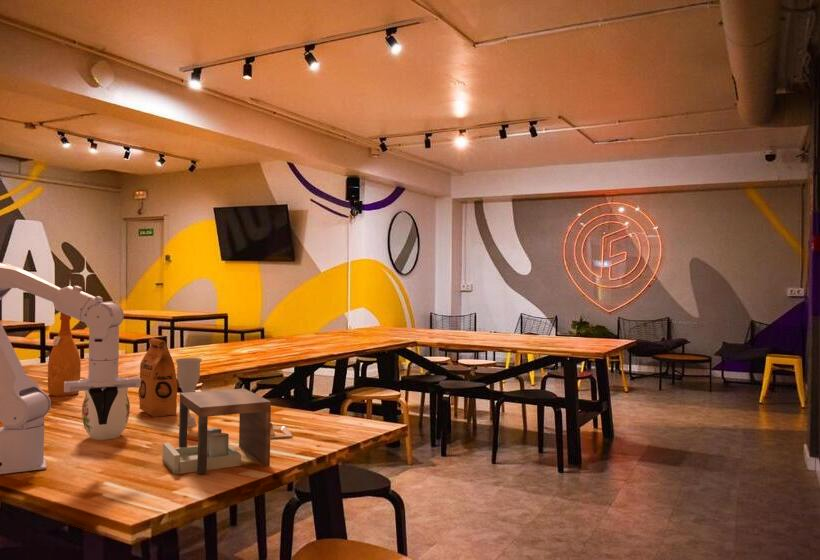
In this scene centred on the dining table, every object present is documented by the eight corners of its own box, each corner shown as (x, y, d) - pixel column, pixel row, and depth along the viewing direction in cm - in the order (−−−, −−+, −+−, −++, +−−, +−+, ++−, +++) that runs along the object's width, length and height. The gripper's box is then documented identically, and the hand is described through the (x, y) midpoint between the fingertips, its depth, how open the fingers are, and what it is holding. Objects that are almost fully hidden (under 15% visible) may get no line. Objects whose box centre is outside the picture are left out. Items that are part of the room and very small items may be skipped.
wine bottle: (51, 392, 224) (52, 305, 224) (82, 391, 226) (84, 305, 227) (44, 397, 214) (46, 306, 214) (77, 396, 217) (78, 306, 217)
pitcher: (121, 426, 175) (122, 375, 175) (135, 440, 160) (136, 385, 160) (76, 431, 169) (77, 378, 169) (86, 446, 154) (87, 388, 154)
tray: (173, 475, 133) (174, 443, 133) (162, 460, 144) (162, 431, 144) (241, 465, 141) (241, 436, 141) (225, 452, 151) (226, 425, 151)
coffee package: (145, 418, 185) (147, 341, 185) (135, 411, 195) (137, 338, 195) (181, 415, 190) (182, 340, 191) (169, 408, 201) (170, 337, 201)
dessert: (239, 432, 173) (240, 414, 173) (285, 429, 177) (285, 412, 177) (244, 443, 162) (245, 424, 162) (292, 440, 166) (293, 421, 166)
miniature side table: (199, 475, 132) (200, 407, 132) (178, 453, 149) (179, 393, 149) (269, 466, 140) (270, 401, 140) (243, 446, 156) (244, 388, 157)
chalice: (191, 428, 173) (193, 361, 174) (168, 427, 175) (170, 360, 175) (205, 423, 181) (206, 358, 181) (183, 421, 182) (184, 357, 182)
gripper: (66, 363, 129) (65, 431, 129) (143, 359, 137) (142, 423, 137) (63, 359, 135) (62, 424, 135) (138, 356, 143) (136, 417, 143)
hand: (102, 423), depth 137 cm, fingers closed
